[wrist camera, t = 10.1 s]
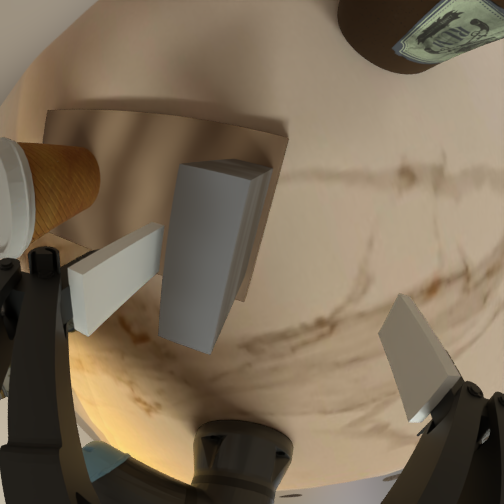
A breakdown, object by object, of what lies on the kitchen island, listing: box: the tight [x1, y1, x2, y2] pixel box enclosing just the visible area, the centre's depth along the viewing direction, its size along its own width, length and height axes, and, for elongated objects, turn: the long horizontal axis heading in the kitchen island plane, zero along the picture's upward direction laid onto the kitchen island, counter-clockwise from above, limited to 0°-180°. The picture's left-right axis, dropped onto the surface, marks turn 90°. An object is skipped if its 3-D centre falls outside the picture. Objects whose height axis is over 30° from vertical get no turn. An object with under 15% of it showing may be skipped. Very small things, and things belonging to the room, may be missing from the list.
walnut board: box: [43, 110, 289, 355], centre depth 18 cm, size 26×14×11 cm, turn 76°
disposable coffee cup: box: [0, 137, 100, 259], centre depth 18 cm, size 10×10×12 cm
